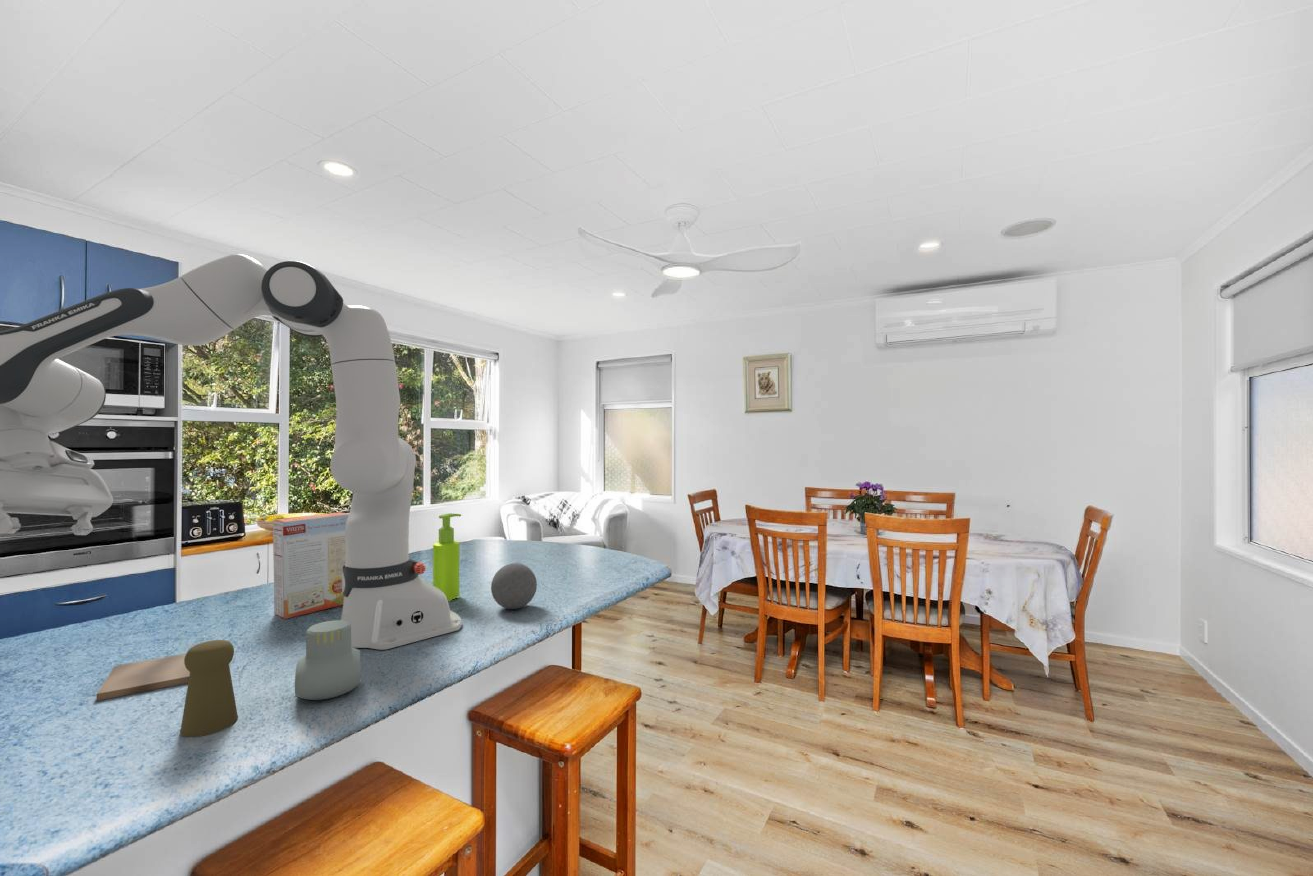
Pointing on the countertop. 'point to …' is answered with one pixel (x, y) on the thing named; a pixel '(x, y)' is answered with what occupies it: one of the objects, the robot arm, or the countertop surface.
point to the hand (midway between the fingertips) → (49, 532)
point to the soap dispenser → (446, 560)
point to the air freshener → (328, 662)
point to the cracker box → (308, 563)
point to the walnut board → (144, 676)
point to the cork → (209, 689)
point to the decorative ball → (514, 586)
